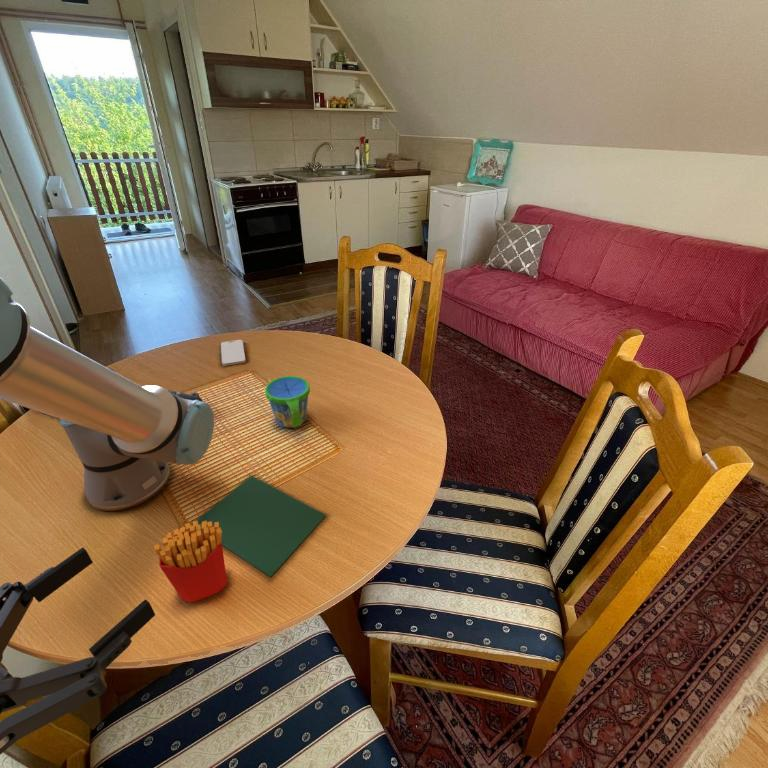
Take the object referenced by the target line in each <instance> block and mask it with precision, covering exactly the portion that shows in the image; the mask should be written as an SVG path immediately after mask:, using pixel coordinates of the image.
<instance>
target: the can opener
mask: <svg viewBox="0 0 768 768" xmlns="http://www.w3.org/2000/svg"><path fill="white" fill-rule="evenodd" d="M167 390H168V391H170V392H172V393H173V394H175V395H177V396H179V397H181V398H183V399H187V400H193V401H194V400H199V401H201V402H203V399H202V397H200V394H199V393H198V391H193V392H192V393H190V394H189V393H185V392H181V391H177V390H172V389H167Z"/></svg>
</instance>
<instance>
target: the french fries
mask: <svg viewBox="0 0 768 768" xmlns="http://www.w3.org/2000/svg"><path fill="white" fill-rule="evenodd" d="M192 522H193V523H192V524H193V525H192V524H191V523H190V522H188V523H185V526H183V527H180V529H179V528H175V529H173V534H172V532H168V533H166V537H163V538H162V544H163V547H164V548H162V546H161V545H160V543H156V544H154V545H153V548H154V551H155V553H156V555H157V556H158V561H159V562H158V563H159V565H158V567H159V568H160V569H161V571H162V572H163V573H164V576H166V578H167V580H168V581H169V583H170V585H172V587H173V588H174V590H175V591H176V593H177V594H178V596H179V597H180V599H181V601H183V602H186V603H187V602H188V603H194V602H197V601H200V600H203V599H205V598H208V597H210V596H213V595H215V594H217V593H220V592H221V591H222V590H223V589H225V587H226V586H227V584H228V580H227V579H228V578H227V572H226V565H225V557H224V549H223V546H222V542H221V536H222V530H221V528H219V522H214V527H213V526H212V521H210V522H207V521H203V522H202V523H201V525H202V531H203V533H202V532H201V527H200V525H198V521H197V520H195V521H194V520H193V521H192ZM207 525H208V526H207Z"/></svg>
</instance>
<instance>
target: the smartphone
mask: <svg viewBox="0 0 768 768" xmlns="http://www.w3.org/2000/svg"><path fill="white" fill-rule="evenodd" d="M219 344H220V361H221V365H222V366H223V367H227V366H233V365H241V364H244V363H246V362H247V358H246V352H245V345H244V341H243V340H242V339H233V340H228V341H227V340H226V341H221V342H220V343H219Z"/></svg>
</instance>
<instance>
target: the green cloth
mask: <svg viewBox="0 0 768 768" xmlns="http://www.w3.org/2000/svg"><path fill="white" fill-rule="evenodd" d="M326 517H327V515H326V514H325V513H324V512H321V511H320V510H318V509H316V508H314V507H312V506H309V505H308V504H306V503H304V502H302V501H300V500H298V499H296V498H295V497H292V496H291V495H289V494H287V493H285V492H283V491H281V490H279V489H277V488H275V486H272V485H270V484H268V483H267V482H264V481H262V480H260V479H259V478H256V477H255V476H253V475H250V476H249V477H248V478H247V479H245V480H244V481H243V482H241V484H239V485H238V486H237V487H236V488H235V489H233V490H232V491H231V492H230V493H228V494H227V495H226V496H225V497H223V498H222V499H221V500H220V501H218V502H217V503H216V504H215V505H214V506H212V507H211V508H210V509H209V510H208V511H207V512H205V513H204V514H203V515H202V516H200V517H199V518H198V519H197V520H196V521H198V525H200V527H201V532H202V534H203V531H202V525H201V523H202V522H203V521H207V522H210V521H212V526H213V527H214V522H219V528H221V530H222V536H221V542H222V548H224V549H226V550H228V551H229V552H231V553H233V554H234V555H236V556H237V557H238V558H240V559H241V560H243V561H245V562H246V563H248V564H249V565H251V566H252V567H254V568H255V569H257V570H258V571H260V572H262V573H263V574H264V575H266V576H267V577H269V578H272V577H273V576H274V575H275V573H277V572H278V570H279V569H280V568H281V567H282V566H283V565H284V564H285V563H286V561H287V560H288V559H289V558H290V557H291V556H292V555H293V554H294V552H296V550H297V549H298V548H299V547H300V546H301V545H302V544H303V542H304V541H305V540H306V539H307V538H308V537H309V536H310V535H311V534H312V533H313V531H314V530H315V529H316V528H317V527H318V526H319V524H320V523H322V522H323V520H324V519H325V518H326ZM192 525H193V523H192V524H191V526H192ZM207 526H208V525H207Z"/></svg>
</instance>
